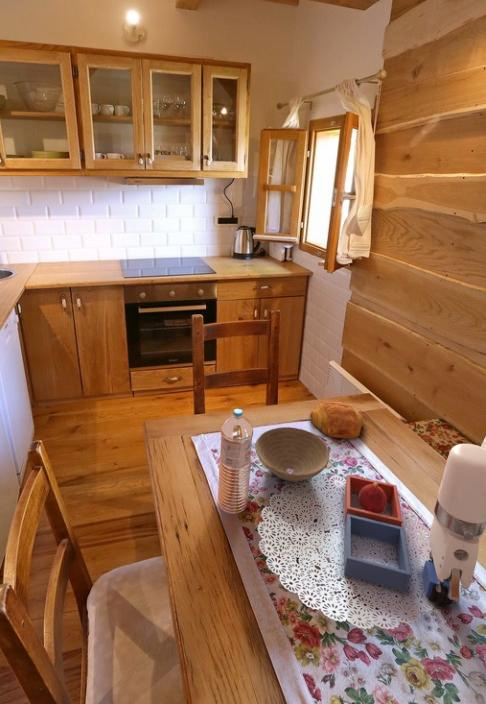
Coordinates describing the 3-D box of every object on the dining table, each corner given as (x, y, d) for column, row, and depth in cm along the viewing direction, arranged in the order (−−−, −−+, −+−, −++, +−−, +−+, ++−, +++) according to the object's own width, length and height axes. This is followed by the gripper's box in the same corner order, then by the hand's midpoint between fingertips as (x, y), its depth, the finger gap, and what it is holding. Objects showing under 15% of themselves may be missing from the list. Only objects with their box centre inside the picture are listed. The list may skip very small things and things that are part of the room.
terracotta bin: (392, 502, 95) (396, 485, 93) (398, 540, 85) (402, 521, 84) (344, 491, 98) (347, 474, 96) (343, 526, 88) (347, 508, 86)
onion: (387, 523, 89) (394, 494, 86) (361, 522, 89) (367, 493, 86) (378, 502, 94) (384, 474, 91) (353, 501, 94) (358, 473, 91)
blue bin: (398, 546, 84) (403, 527, 82) (405, 595, 74) (411, 575, 72) (343, 532, 87) (347, 513, 85) (343, 577, 77) (347, 557, 75)
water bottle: (232, 490, 97) (237, 398, 89) (253, 506, 93) (261, 411, 84) (211, 504, 93) (214, 410, 84) (233, 522, 88) (239, 424, 80)
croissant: (309, 417, 131) (308, 395, 129) (359, 417, 129) (359, 394, 126) (313, 444, 118) (312, 420, 115) (369, 444, 115) (369, 419, 113)
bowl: (238, 473, 103) (239, 446, 100) (279, 441, 116) (282, 417, 113) (301, 513, 91) (304, 485, 88) (339, 473, 104) (344, 447, 101)
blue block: (446, 584, 76) (452, 567, 75) (452, 607, 72) (458, 589, 71) (420, 577, 77) (425, 560, 76) (424, 599, 73) (430, 581, 72)
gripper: (502, 563, 60) (471, 646, 66) (470, 485, 75) (448, 558, 81) (446, 549, 62) (421, 631, 68) (426, 476, 77) (408, 548, 83)
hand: (436, 590), depth 75 cm, fingers closed on blue block, 4 cm apart
